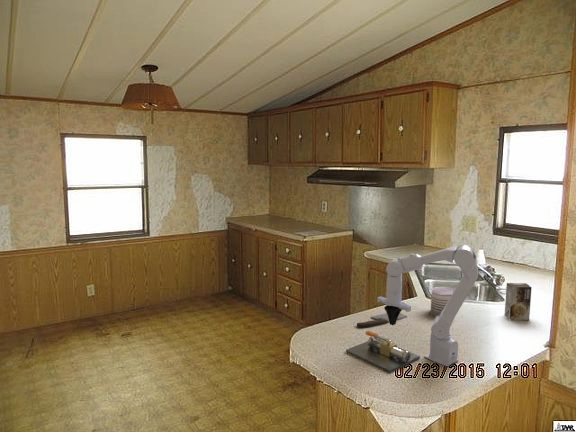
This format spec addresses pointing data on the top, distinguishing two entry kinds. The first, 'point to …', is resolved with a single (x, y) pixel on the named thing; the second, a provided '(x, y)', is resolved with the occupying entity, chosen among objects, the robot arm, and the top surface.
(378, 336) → the lever
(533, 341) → the top surface
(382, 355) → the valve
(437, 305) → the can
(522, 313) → the coffee box
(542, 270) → the top surface
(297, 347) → the top surface
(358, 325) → the cleaver
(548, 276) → the top surface
